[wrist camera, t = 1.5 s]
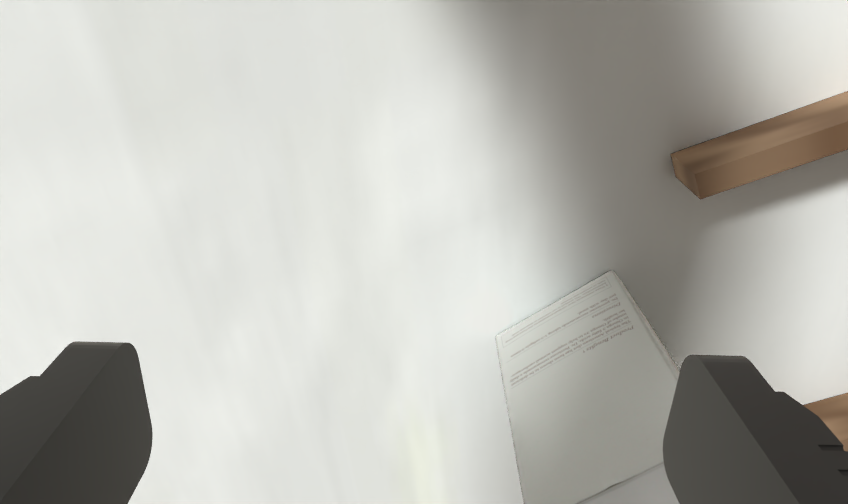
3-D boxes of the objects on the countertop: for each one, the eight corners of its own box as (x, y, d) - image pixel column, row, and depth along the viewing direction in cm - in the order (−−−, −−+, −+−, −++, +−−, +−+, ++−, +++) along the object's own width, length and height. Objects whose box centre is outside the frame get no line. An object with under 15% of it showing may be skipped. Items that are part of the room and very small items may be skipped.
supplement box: (559, 424, 36) (617, 641, 25) (491, 333, 34) (521, 527, 22) (678, 365, 34) (802, 570, 23) (616, 263, 32) (719, 437, 20)
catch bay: (738, 439, 36) (762, 478, 34) (670, 154, 29) (694, 174, 26) (965, 377, 34) (1011, 413, 32) (952, 54, 27) (1009, 64, 24)
